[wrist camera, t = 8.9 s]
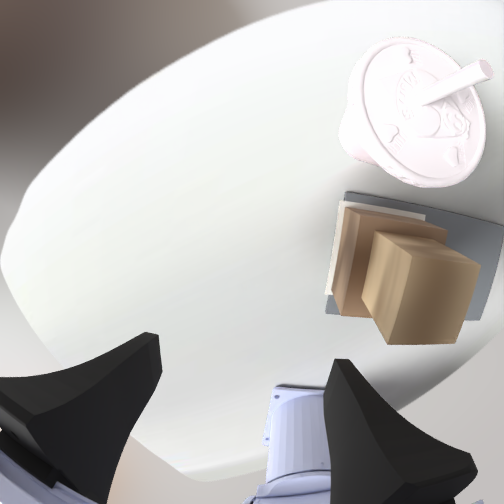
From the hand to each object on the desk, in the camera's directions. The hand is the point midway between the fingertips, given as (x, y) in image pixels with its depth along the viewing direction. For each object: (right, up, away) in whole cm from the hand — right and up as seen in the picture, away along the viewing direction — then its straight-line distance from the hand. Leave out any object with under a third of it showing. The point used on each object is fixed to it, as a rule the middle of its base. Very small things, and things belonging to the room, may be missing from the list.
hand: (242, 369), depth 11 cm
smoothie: (+8, +13, +7) cm, 17 cm away
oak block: (+9, +4, +4) cm, 10 cm away
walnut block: (+9, +4, +8) cm, 13 cm away
